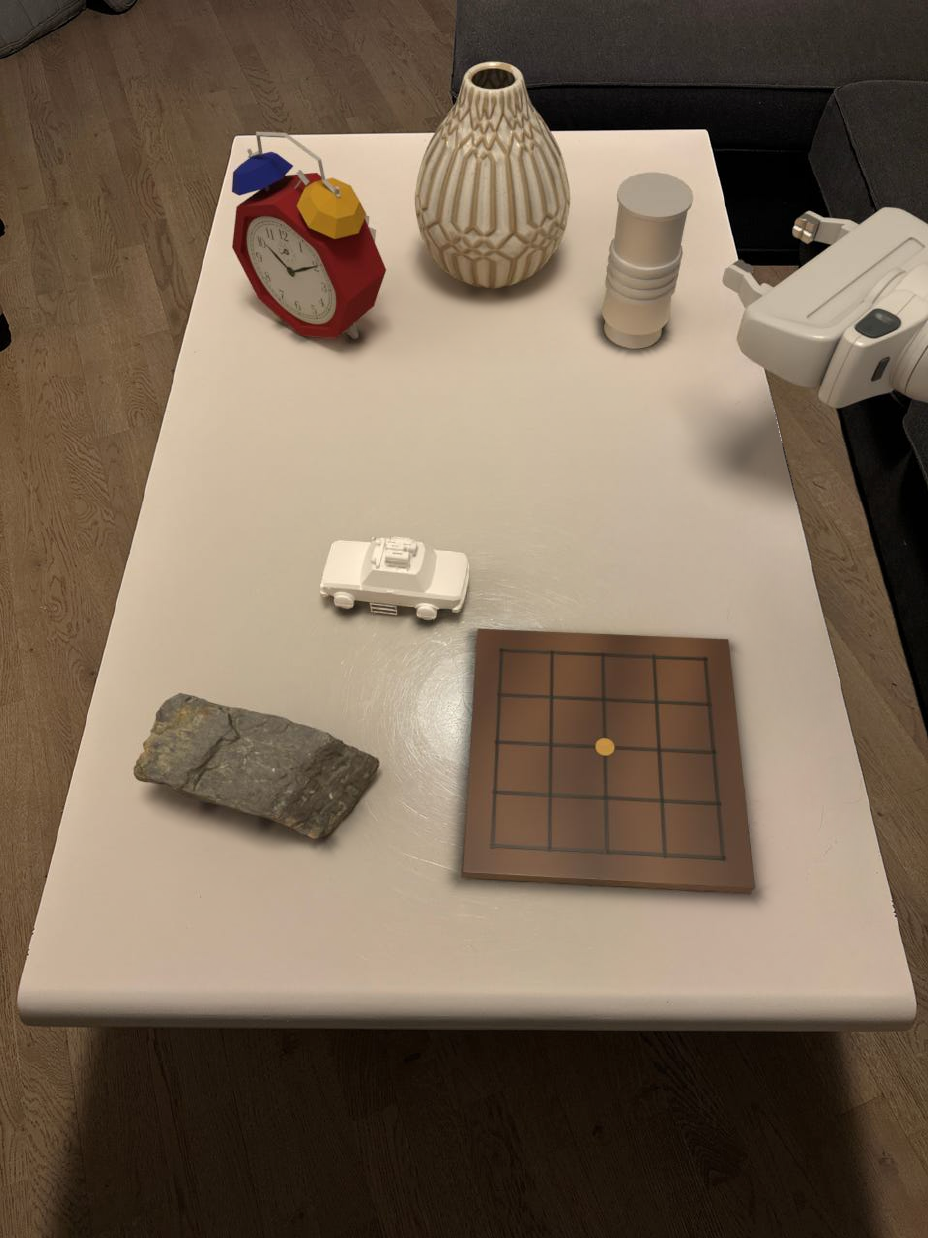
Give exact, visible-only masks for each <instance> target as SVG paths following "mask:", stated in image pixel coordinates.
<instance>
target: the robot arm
mask: <svg viewBox="0 0 928 1238" xmlns="http://www.w3.org/2000/svg"><path fill="white" fill-rule="evenodd" d="M791 232H792V236H793V237H794V238H796V239H799V240H801V241H802V242H803V243H805V244H807V245H809V244H810V243H812V242H813V241H814V242H819V243H823V244H826V245H830V246H828V247H827V248H825V249H824V250H823V251H821V252H820V253H819V254H817V255H816V256H815V257H813V258H812V259H810V260H809V261H807V262H806V263H805V264H803V266H801V267H800V268H798V269H797V270H795V271H794V272H793V273H791V274H790V275H789V276H787V277H786V278H784V279H783V280H781V281H780V282H779V283H777V284H776V285H775V286H772V285H770V284H768V283H767V282H763V283H761V284H760V285H759V283H758V281H756V279H755V278H754V276H753V275H754V272H755V269H756V267H754V266H753V265H751V264H749V263H746V262H745V260H743V259H738V260H736V261H735V262H732V264H730V265H729V266H727V267H726V268H725V269H724V273H723V276H722V284H723V285H724V286H725V287H726V288H727V289H729V290H731V291H733V292H734V293H736V294H737V296H738V298H739V299H740V302H741V304H742V306H743V307H744V312H743V314H742V317H741V319H740V323H739V327H738V331H737V334H736V343H737V345H738V348H739V351H740V352H741V353H742V354H743V355H744V356H745V357H746V358H748V359H749V360H750V361H752V362H754V363H755V364H757V365H759V366H760V367H762V368H763V369H765V370H766V371H768V372H770V373H771V374H773V375H775V376H777V377H778V378H781V380H784V381H786V382H787V383H790V384H792V385H795V386H797V387H801V388H807V389H813V388H818V387H820V388H819V391H818V395H817V398H818V400H820V401H821V402H822V403H823V404H825V405H827V406H828V407H830V408H833V409H842V408H845V407H848V406H850V405H852V404H853V405H854V404H856V403H858V402H861V401H864V400H866V399H867V400H868V399H870V398H873V397H877V396H881V395H885V394H889V393H892V392H893V391H894V390H895V391H897V392H899V393H901V394H902V395H904V396H906V397H908V398H909V399H911V400H914V401H918V402H923V403H926V404H928V223H927V222H925V221H924V220H922V219H920V218H918V217H917V216H915V215H913V214H912V213H910V212H907V211H906V210H904V209H901V208H899V207H891V206H890V207H889V206H888V207H887V206H885V207H881V208H880V209H879V210H877V211H876V212H875V213H874V214H872V215H871V216H869V217H868V218H866V219H865V220H864V221H862V222H861V223H857V222H855V221H852V220H851V219H845V218H844V219H843V218H834V217H823V216H822V215H820V214H817V213H815V212H813V211H811V210H808V211H806V212H804V213H803V214H801V215H800V216H799V217H797V218H796V219H795V220H794V226H793V227H792V230H791Z"/></svg>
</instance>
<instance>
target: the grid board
mask: <svg viewBox="0 0 928 1238" xmlns="http://www.w3.org/2000/svg"><path fill="white" fill-rule="evenodd" d="M476 632H477V634H476V648H475V649H476V650H475V664H474V680H473V695H472V696H473V697H472V712H471V713H472V714H471V728H470V729H471V730H470V743H469V757H468V775H467V790H466V792H467V793H466V807H465V808H466V809H465V821H464V822H465V823H464V838H463V840H464V841H463V856H462V871H461V872H462V873H461V874H462V878H464V879H482V880H499V881H501V880H502V881H515V882H535V883H553V884H554V883H555V884H570V885H571V884H573V885H587V886H588V885H589V886H607V887H626V888H628V887H629V888H645V889H661V890H662V889H663V890H678V891H679V890H680V891H698V892H699V891H700V892H717V893H718V892H719V893H734V894H735V893H737V894H752V893H753V892H754V890H755V889H756V883H755V873H754V865H753V855H752V847H751V837H750V829H749V828H750V827H749V818H748V809H747V801H746V790H745V783H744V782H745V781H744V780H745V779H744V772H743V763H742V754H741V743H740V736H739V725H738V715H737V705H736V698H735V687H734V680H733V679H734V678H733V669H732V660H731V651H730V641H729V639H727V638H708V637H707V638H705V637H685V636H684V637H683V636H681V637H680V636H664V635H663V636H659V635H635V634H614V633H613V634H612V633H592V632H590V633H589V632H587V633H586V632H569V631H568V632H566V631H542V630H541V631H540V630H519V629H497V628H493V629H492V628H477V631H476Z"/></svg>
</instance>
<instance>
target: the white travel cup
mask: <svg viewBox="0 0 928 1238" xmlns="http://www.w3.org/2000/svg"><path fill="white" fill-rule="evenodd" d="M616 200H617V203H618V206H617V214H616V221H615V229H614V237H613V238H612V239H611V241H610V243H609V248H608V250H609V254H608V257H607V266H606V275H605V280H604V282H605V288H606V291H605V295H604V300H603V304H602V310H601V311H602V312H601V313H602V317H603V319H604V321H605V322H604V325H603V331H604V334H605V335H606V337H607V338H608V339H609V340H610V341H611V342H612V343H614V344H615V345H617V346H620V347H622V348H627V349H642V348H643V349H644V348H647V347H650V346H652V345H654V344H655V343H657V342H658V341H659V339H660V338H661V337H662V334H663V329H662V328H664V327H665V326H666V325H667V323H668V322H669V320H670V314H671V307H672V296H673V295H674V294H675V292H676V287H677V282H678V278H679V274H680V273H679V272H680V268H681V264H682V263H681V262H682V258H683V253H684V251H683V246H682V241H683V236H684V231H685V226H686V221H687V217H688V216H687V215H688V211H689V210H690V209H691V207H692V206H693V202H694V193H693V190H692V189H691V186H690V185H689V184H687V183H686V181H684V180H682V179H680V178H678V177H677V176H674V175H671V174H667V173H662V172H643V173H637V174H635V175H632V176H629V177H627V178H626V179H625V180H622V182H621V183H620V184H619V186H618V188H617V192H616Z"/></svg>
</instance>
